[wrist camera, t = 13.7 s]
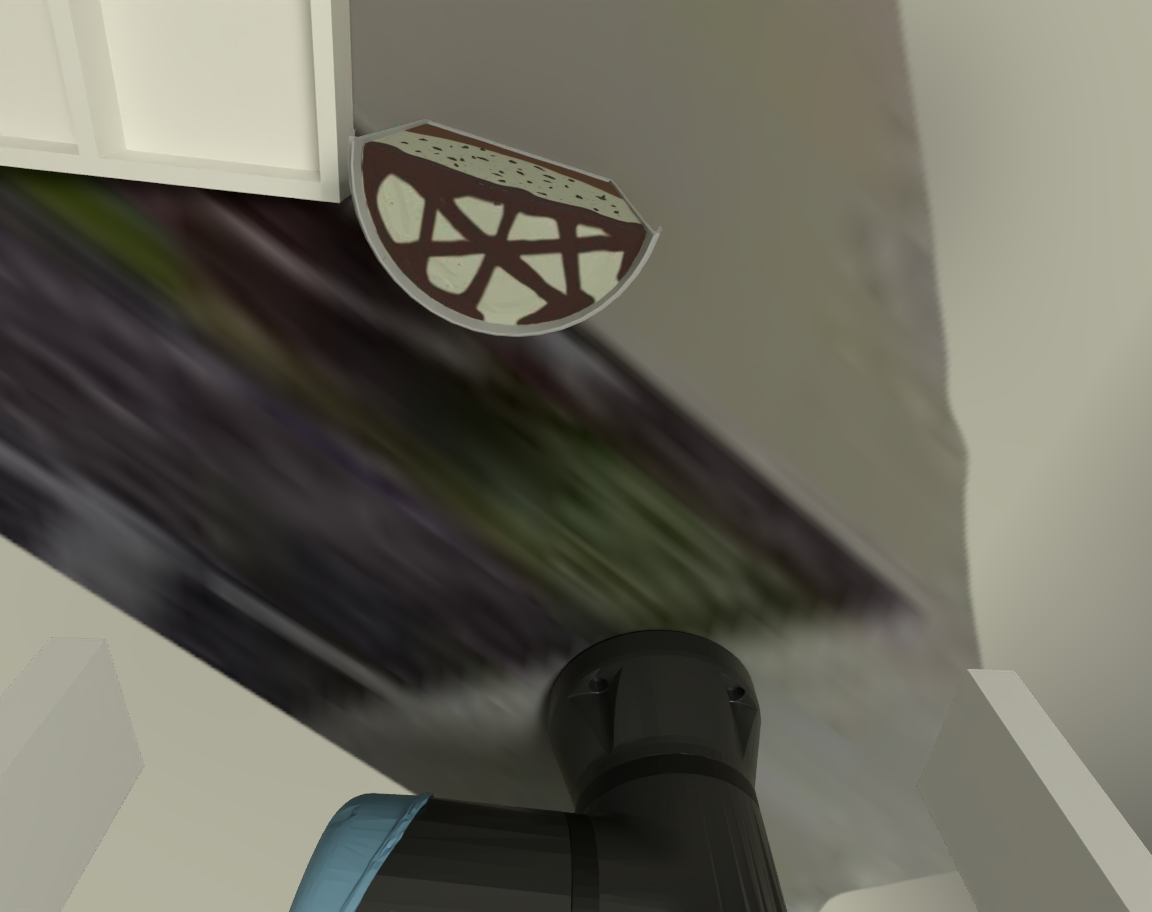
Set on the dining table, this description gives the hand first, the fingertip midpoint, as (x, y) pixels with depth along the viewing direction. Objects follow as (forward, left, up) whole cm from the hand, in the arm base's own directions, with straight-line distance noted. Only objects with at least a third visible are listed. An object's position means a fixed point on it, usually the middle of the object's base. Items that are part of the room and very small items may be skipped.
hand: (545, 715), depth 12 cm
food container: (+1, +3, -30) cm, 30 cm away
